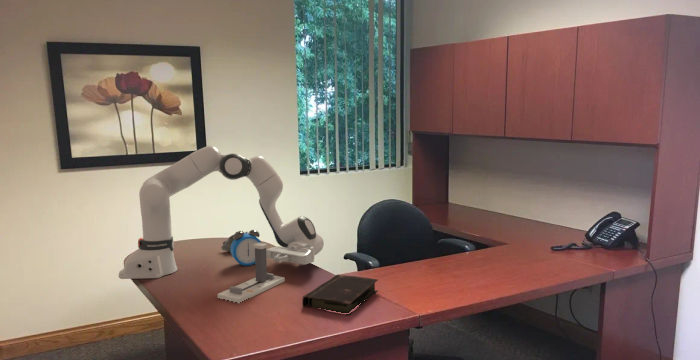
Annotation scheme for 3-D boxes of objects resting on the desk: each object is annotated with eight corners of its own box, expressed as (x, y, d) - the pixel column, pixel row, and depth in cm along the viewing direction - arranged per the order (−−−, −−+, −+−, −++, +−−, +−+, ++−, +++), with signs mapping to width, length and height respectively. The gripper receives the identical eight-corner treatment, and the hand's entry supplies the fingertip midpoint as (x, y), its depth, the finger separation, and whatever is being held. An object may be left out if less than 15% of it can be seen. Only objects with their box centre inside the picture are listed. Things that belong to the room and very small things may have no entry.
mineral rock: (220, 252, 233) (219, 232, 232) (233, 247, 243) (233, 227, 242) (243, 255, 229) (242, 234, 227) (256, 249, 239) (255, 229, 237)
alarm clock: (234, 268, 210) (232, 233, 208) (230, 264, 215) (229, 230, 213) (264, 264, 215) (263, 230, 213) (260, 260, 221) (259, 227, 219)
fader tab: (259, 278, 191) (258, 242, 189) (268, 280, 189) (267, 243, 187) (253, 280, 188) (252, 244, 186) (262, 282, 186) (261, 246, 184)
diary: (301, 309, 168) (301, 294, 167) (335, 286, 190) (335, 273, 190) (351, 317, 160) (351, 302, 159) (380, 292, 182) (380, 279, 182)
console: (264, 277, 198) (264, 268, 198) (284, 281, 193) (284, 272, 193) (217, 298, 176) (217, 288, 176) (238, 303, 171) (238, 293, 171)
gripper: (277, 241, 213) (256, 248, 201) (317, 247, 203) (297, 255, 191) (277, 255, 214) (256, 263, 202) (317, 262, 204) (297, 271, 192)
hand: (276, 260), depth 196 cm, fingers closed
